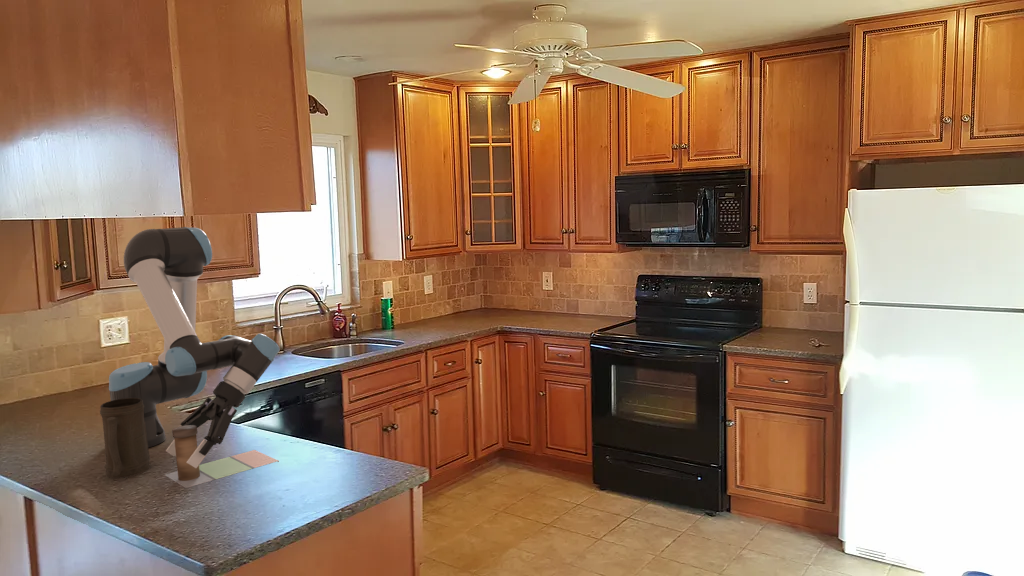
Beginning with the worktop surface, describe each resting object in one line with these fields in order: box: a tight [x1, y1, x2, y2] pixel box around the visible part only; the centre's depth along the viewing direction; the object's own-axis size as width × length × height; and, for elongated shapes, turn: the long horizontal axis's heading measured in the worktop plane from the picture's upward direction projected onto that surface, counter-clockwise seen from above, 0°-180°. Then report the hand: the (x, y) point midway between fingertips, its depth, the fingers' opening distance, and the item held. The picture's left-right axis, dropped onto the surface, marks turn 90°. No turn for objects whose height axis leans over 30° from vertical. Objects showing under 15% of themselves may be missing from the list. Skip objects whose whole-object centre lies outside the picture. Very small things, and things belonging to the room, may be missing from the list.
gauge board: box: [164, 449, 280, 489], centre depth 186 cm, size 14×24×1 cm, turn 135°
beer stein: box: [99, 398, 151, 479], centre depth 184 cm, size 15×11×20 cm
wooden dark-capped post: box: [171, 425, 200, 481], centre depth 180 cm, size 6×6×12 cm
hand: (180, 459), depth 178 cm, fingers open, 13 cm apart
